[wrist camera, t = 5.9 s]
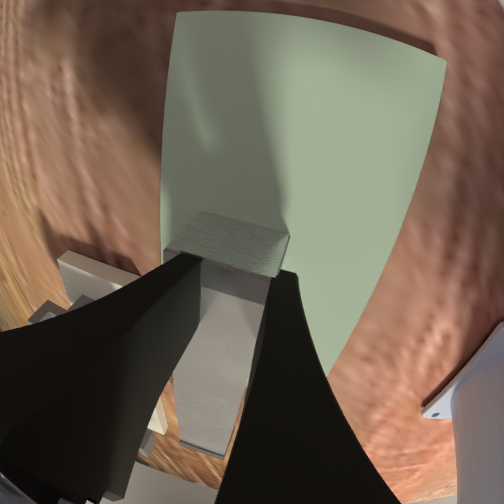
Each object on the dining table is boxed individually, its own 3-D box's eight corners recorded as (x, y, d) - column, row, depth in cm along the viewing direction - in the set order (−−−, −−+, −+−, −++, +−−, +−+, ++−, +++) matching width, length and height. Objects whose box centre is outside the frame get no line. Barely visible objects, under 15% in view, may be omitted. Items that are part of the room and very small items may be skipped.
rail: (291, 233, 9) (276, 280, 7) (234, 430, 18) (223, 460, 16) (201, 209, 10) (163, 247, 8) (193, 416, 18) (180, 445, 16)
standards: (142, 277, 13) (90, 338, 10) (169, 426, 23) (151, 462, 19) (67, 249, 14) (15, 293, 10) (121, 405, 23) (101, 437, 20)
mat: (440, 62, 6) (447, 61, 5) (311, 393, 14) (310, 402, 14) (185, 15, 7) (176, 12, 6) (173, 352, 16) (168, 360, 15)
